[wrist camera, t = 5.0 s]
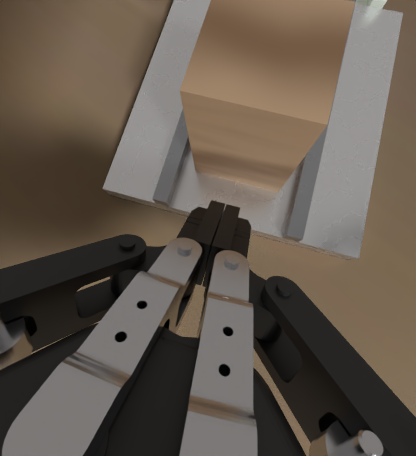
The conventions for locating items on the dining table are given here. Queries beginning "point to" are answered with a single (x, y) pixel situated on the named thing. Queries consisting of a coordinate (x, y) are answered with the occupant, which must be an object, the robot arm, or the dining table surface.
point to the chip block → (262, 85)
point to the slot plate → (304, 173)
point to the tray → (372, 3)
